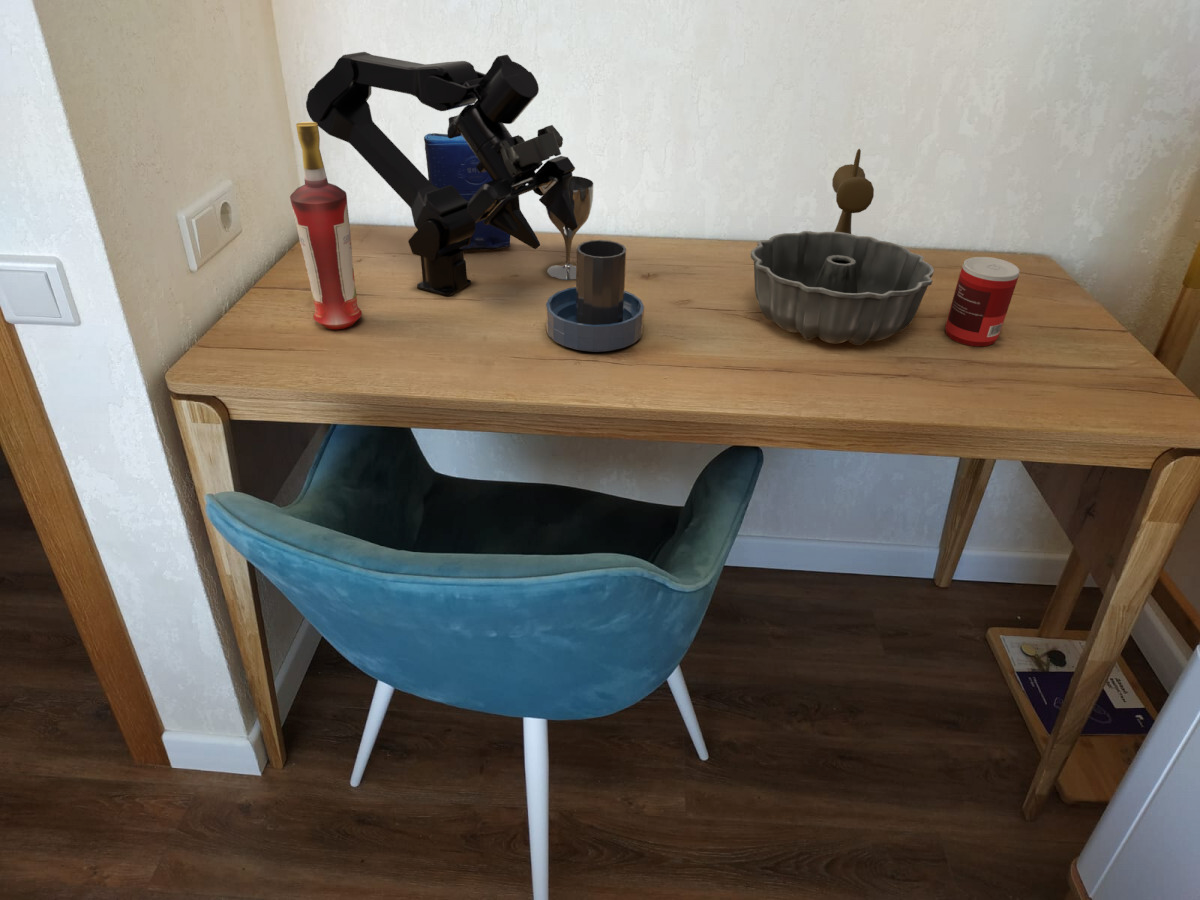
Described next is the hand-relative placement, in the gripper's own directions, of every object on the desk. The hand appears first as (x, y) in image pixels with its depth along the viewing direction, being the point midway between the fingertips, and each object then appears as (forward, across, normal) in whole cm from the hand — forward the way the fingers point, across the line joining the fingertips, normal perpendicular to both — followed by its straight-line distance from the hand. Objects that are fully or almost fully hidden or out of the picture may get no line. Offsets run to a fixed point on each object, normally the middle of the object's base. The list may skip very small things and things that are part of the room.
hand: (557, 238), depth 118 cm
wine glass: (+2, +17, +16) cm, 24 cm away
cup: (+14, 0, +3) cm, 14 cm away
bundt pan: (+33, +25, -15) cm, 44 cm away
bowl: (+14, 0, +4) cm, 15 cm away
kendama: (+28, +48, -10) cm, 57 cm away
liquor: (-9, -19, +28) cm, 35 cm away
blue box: (-12, +15, +30) cm, 36 cm away
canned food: (+47, +33, -28) cm, 64 cm away
